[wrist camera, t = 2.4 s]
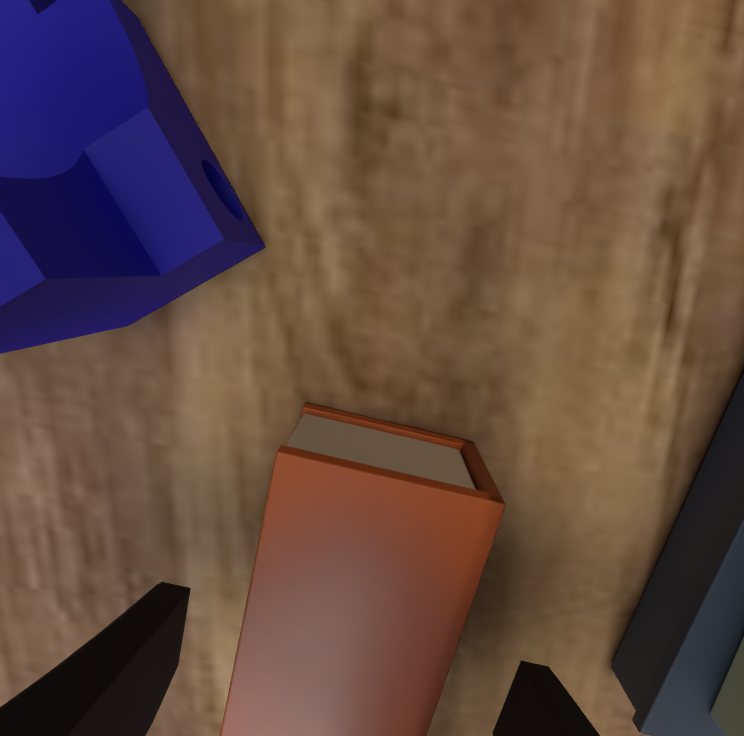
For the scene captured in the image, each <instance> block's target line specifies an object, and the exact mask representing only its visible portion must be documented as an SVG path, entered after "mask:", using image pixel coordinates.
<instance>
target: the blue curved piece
mask: <svg viewBox="0 0 744 736" xmlns="http://www.w3.org/2000/svg"><path fill="white" fill-rule="evenodd" d="M263 248H265V245H264V243H263V241H262V240H261V238H260V236H259V234H258V233H257V231H256V229H255V227H254V225H253V224H252V222H251V220H250V218H249V216H248V215H247V213H246V211H245V209H244V207H243V206H242V204H241V202H240V200H239V199H238V197H237V195H236V193H235V191H234V190H233V188H232V186H231V184H230V182H229V181H228V179H227V177H226V175H225V173H224V172H223V170H222V168H221V166H220V165H219V163H218V161H217V159H216V157H215V156H214V154H213V152H212V150H211V148H210V147H209V145H208V143H207V141H206V140H205V138H204V136H203V134H202V132H201V131H200V129H199V127H198V125H197V123H196V122H195V120H194V118H193V116H192V114H191V113H190V111H189V109H188V107H187V106H186V104H185V102H184V100H183V98H182V97H181V95H180V93H179V91H178V89H177V88H176V86H175V84H174V82H173V80H172V79H171V77H170V75H169V73H168V72H167V70H166V68H165V66H164V64H163V63H162V61H161V59H160V57H159V55H158V54H157V52H156V50H155V48H154V46H153V45H152V43H151V41H150V39H149V38H148V36H147V34H146V32H145V30H144V29H143V27H142V25H141V23H140V21H139V20H138V18H137V16H136V15H135V14H134V13H133V12H132V11H131V10H130V9H129V8H128V7H127V6H126V5H125V4H124V3H123V2H122V1H121V0H0V354H1V353H5V352H10V351H14V350H19V349H24V348H28V347H33V346H37V345H42V344H46V343H51V342H56V341H60V340H65V339H69V338H74V337H79V336H83V335H88V334H92V333H97V332H101V331H106V330H111V329H115V328H120V327H124V326H128V325H130V324H132V323H134V322H135V321H137V320H139V319H141V318H142V317H144V316H146V315H148V314H149V313H151V312H153V311H155V310H156V309H158V308H160V307H162V306H163V305H165V304H167V303H169V302H170V301H172V300H174V299H176V298H177V297H179V296H181V295H183V294H184V293H186V292H188V291H190V290H191V289H193V288H195V287H197V286H198V285H200V284H202V283H204V282H205V281H207V280H209V279H211V278H212V277H214V276H216V275H218V274H219V273H221V272H223V271H225V270H226V269H228V268H230V267H232V266H233V265H235V264H237V263H239V262H240V261H242V260H244V259H246V258H247V257H249V256H251V255H253V254H254V253H256V252H258V251H260V250H262V249H263Z"/></svg>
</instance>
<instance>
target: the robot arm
mask: <svg viewBox="0 0 744 736" xmlns="http://www.w3.org/2000/svg"><path fill="white" fill-rule="evenodd" d="M189 595H190V588H188V587H183V586H179V585H174V584H169V583H165V582H161V583H159V584H157V585H156V586H155V587H154V588H152V589H151V590H150V591H149V592H148V593H147V594H145V595H144V596H143V597H142V598H141V599H140V600H138V601H137V602H136V603H135V604H134V605H132V606H131V607H130V608H129V609H128V610H127V611H125V612H124V613H123V614H122V615H121V616H119V617H118V618H117V619H116V620H114V621H113V622H112V623H111V624H110V625H108V626H107V627H106V628H105V629H103V630H102V631H101V632H100V633H98V634H97V635H96V636H95V637H93V638H92V639H91V640H90V641H88V642H87V643H86V644H84V645H83V646H82V647H81V648H79V649H78V650H77V651H76V652H74V653H73V654H72V655H70V656H69V657H68V658H67V659H65V660H64V661H63V662H61V663H60V664H59V665H58V666H56V667H55V668H54V669H52V670H51V671H50V672H48V673H47V674H46V675H44V676H43V677H41V678H40V679H39V680H37V681H36V682H35V683H33V684H32V685H30V686H29V687H28V688H26V689H25V690H24V691H22V692H21V693H19V694H18V695H17V696H15V697H14V698H12V699H11V700H10V701H8V702H7V703H6V704H4V705H3V706H1V707H0V736H145V735H146V734H147V732H148V730H149V728H150V726H151V724H152V722H153V720H154V718H155V716H156V714H157V711H158V709H159V707H160V705H161V703H162V701H163V698H164V696H165V694H166V692H167V689H168V687H169V685H170V683H171V680H172V678H173V676H174V674H175V671H176V669H177V667H178V663H179V657H180V651H181V644H182V638H183V632H184V626H185V620H186V613H187V607H188V601H189ZM493 736H600V735H599V734H598V732H597V731H596V730H595V728H594V727H593V726H592V724H591V723H590V722H589V720H588V719H587V718H586V716H585V715H584V713H583V712H582V711H581V709H580V708H579V707H578V705H577V704H576V703H575V701H574V700H573V698H572V697H571V696H570V694H569V693H568V692H567V690H566V689H565V688H564V686H563V685H562V684H561V682H560V681H559V680H558V678H557V677H556V676H555V674H554V673H553V672H552V671H551V669H550V668H549V667H548V666H543V665H539V664H534V663H530V662H525V661H521V662H520V664H519V667H518V670H517V672H516V675H515V677H514V680H513V682H512V685H511V687H510V690H509V692H508V695H507V698H506V700H505V703H504V705H503V708H502V710H501V713H500V715H499V718H498V721H497V723H496V726H495V728H494V731H493Z"/></svg>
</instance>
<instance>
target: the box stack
mask: <svg viewBox="0 0 744 736" xmlns="http://www.w3.org/2000/svg"><path fill="white" fill-rule="evenodd" d="M611 668H612V670H613V672H614V673H615V675H616V677H617V679H618V680H619V682H620V684H621V686H622V687H623V689H624V691H625V693H626V694H627V696H628V698H629V700H630V701H631V703H632V705H633V707H634V708H635V710H636V712H635V714H634V716H633V718H632V720H633V722H634V724H635V726H636V728H637V729H638V731H639V732H640V733H642V734H647V735H651V736H744V372H743V375H742V377H741V379H740V381H739V384H738V386H737V388H736V390H735V392H734V395H733V397H732V399H731V401H730V404H729V406H728V408H727V410H726V412H725V415H724V417H723V419H722V421H721V423H720V426H719V428H718V430H717V432H716V435H715V437H714V439H713V441H712V443H711V446H710V448H709V450H708V452H707V455H706V457H705V459H704V461H703V463H702V466H701V468H700V470H699V472H698V475H697V477H696V479H695V481H694V483H693V486H692V488H691V490H690V492H689V495H688V497H687V499H686V501H685V503H684V506H683V508H682V510H681V512H680V514H679V517H678V519H677V521H676V523H675V526H674V528H673V530H672V532H671V534H670V537H669V539H668V541H667V543H666V546H665V548H664V550H663V552H662V554H661V557H660V559H659V561H658V563H657V566H656V568H655V570H654V572H653V574H652V577H651V579H650V581H649V583H648V585H647V588H646V590H645V592H644V594H643V597H642V599H641V601H640V603H639V605H638V608H637V610H636V612H635V614H634V617H633V619H632V621H631V623H630V625H629V628H628V630H627V632H626V634H625V637H624V639H623V641H622V643H621V645H620V648H619V650H618V652H617V654H616V657H615V659H614V661H613V663H612V665H611Z"/></svg>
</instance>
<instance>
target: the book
mask: <svg viewBox="0 0 744 736" xmlns="http://www.w3.org/2000/svg"><path fill="white" fill-rule="evenodd" d="M505 506H506V504H505V502H504V500H503V498H502V496H501V494H500V492H499V490H498V488H497V486H496V484H495V482H494V481H493V479H492V477H491V475H490V473H489V471H488V469H487V467H486V465H485V463H484V461H483V459H482V457H481V455H480V453H479V452H478V450H477V448H476V446H475V444H474V442H471V441H467V440H463V439H458V438H454V437H450V436H445V435H441V434H437V433H433V432H428V431H424V430H420V429H416V428H411V427H407V426H403V425H398V424H394V423H390V422H386V421H381V420H377V419H373V418H369V417H364V416H360V415H356V414H351V413H347V412H343V411H339V410H334V409H330V408H326V407H322V406H317V405H313V404H309V403H305V405H304V407H303V410H302V414H301V419H300V421H299V423H298V425H297V427H296V428H295V430H294V432H293V434H292V435H291V437H290V439H289V441H288V443H287V444H286V446H285V445H281V446H280V447H279V449H278V451H277V452H276V457H275V462H274V467H273V472H272V477H271V482H270V487H269V492H268V497H267V502H266V507H265V512H264V517H263V522H262V527H261V532H260V537H259V543H258V548H257V553H256V558H255V563H254V568H253V573H252V578H251V583H250V588H249V593H248V598H247V603H246V608H245V613H244V618H243V623H242V628H241V633H240V638H239V643H238V648H237V653H236V658H235V663H234V668H233V673H232V678H231V683H230V688H229V693H228V698H227V703H226V708H225V713H224V718H223V723H222V728H221V733H220V736H427V733H428V730H429V727H430V724H431V721H432V718H433V715H434V713H435V710H436V707H437V704H438V701H439V698H440V695H441V692H442V689H443V686H444V683H445V681H446V678H447V675H448V672H449V669H450V666H451V663H452V660H453V657H454V654H455V651H456V649H457V646H458V643H459V640H460V637H461V634H462V631H463V628H464V625H465V622H466V619H467V616H468V614H469V611H470V608H471V605H472V602H473V599H474V596H475V593H476V590H477V587H478V584H479V582H480V579H481V576H482V573H483V570H484V567H485V564H486V561H487V558H488V555H489V552H490V550H491V547H492V544H493V541H494V538H495V535H496V532H497V529H498V526H499V523H500V520H501V518H502V515H503V512H504V509H505Z"/></svg>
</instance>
